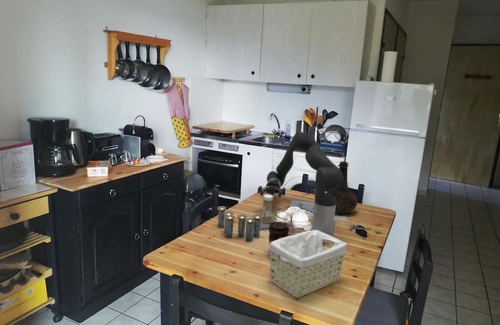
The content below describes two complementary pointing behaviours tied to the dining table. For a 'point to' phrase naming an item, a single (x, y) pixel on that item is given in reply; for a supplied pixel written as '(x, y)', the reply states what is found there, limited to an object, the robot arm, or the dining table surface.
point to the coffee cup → (277, 231)
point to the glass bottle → (344, 194)
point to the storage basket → (305, 262)
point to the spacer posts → (239, 224)
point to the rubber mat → (265, 224)
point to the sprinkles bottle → (267, 208)
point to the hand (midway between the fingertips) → (270, 194)
